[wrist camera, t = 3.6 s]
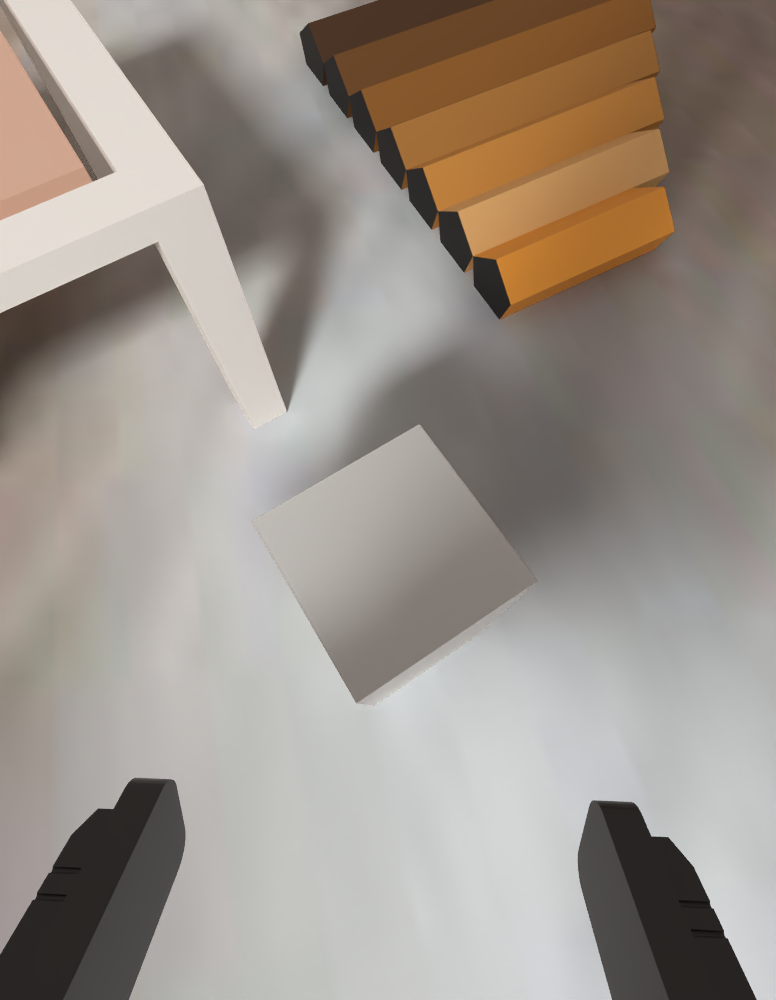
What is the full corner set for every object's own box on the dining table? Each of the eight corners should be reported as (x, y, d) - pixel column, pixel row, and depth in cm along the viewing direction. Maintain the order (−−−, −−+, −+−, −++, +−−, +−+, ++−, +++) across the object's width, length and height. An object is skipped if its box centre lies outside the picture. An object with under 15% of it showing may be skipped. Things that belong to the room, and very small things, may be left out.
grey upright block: (409, 537, 23) (419, 424, 14) (477, 635, 22) (537, 580, 13) (310, 598, 23) (251, 521, 13) (373, 706, 21) (356, 703, 12)
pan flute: (606, -35, 40) (304, 69, 36) (624, -99, 37) (296, 8, 33) (858, 169, 32) (503, 333, 28) (909, 110, 29) (516, 285, 25)
